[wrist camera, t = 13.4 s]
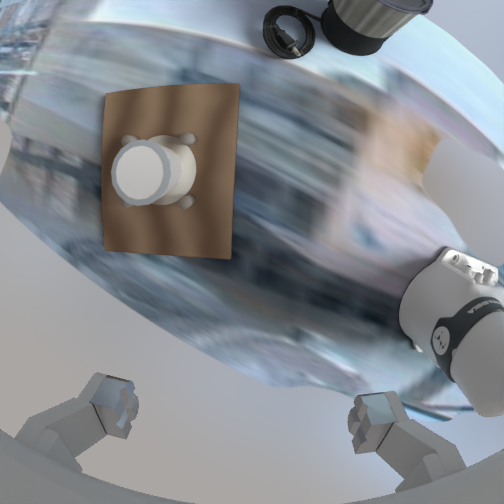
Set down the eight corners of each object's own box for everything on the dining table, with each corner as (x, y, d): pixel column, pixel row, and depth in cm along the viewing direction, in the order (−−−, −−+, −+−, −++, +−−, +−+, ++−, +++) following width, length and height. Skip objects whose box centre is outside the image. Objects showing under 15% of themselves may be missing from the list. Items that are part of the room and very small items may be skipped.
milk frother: (393, 32, 28) (444, -10, 14) (340, 102, 32) (386, 69, 18) (311, -21, 26) (330, -82, 11) (248, 42, 30) (241, -18, 15)
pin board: (240, 87, 32) (237, 76, 27) (231, 255, 38) (227, 267, 34) (111, 95, 32) (95, 89, 27) (109, 247, 38) (94, 257, 34)
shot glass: (134, 195, 34) (108, 203, 28) (139, 142, 32) (113, 139, 25) (185, 200, 34) (167, 209, 28) (190, 144, 32) (174, 140, 26)
